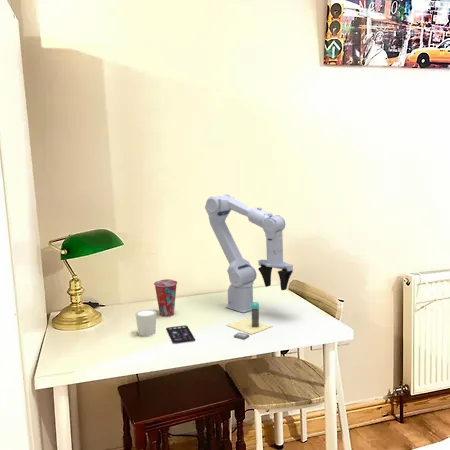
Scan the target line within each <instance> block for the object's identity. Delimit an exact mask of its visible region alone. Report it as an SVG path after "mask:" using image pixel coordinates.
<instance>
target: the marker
mask: <svg viewBox="0 0 450 450" xmlns="http://www.w3.org/2000/svg"><path fill="white" fill-rule="evenodd" d="M251 308H252V310H251V319H252V327H259V322H260V313H259V312H260V303H259V302H257V301H253V303H251Z"/></svg>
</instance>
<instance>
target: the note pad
mask: <svg viewBox="0 0 450 450" xmlns="http://www.w3.org/2000/svg"><path fill="white" fill-rule="evenodd" d="M226 326H227V327H229V328H232V329H234V330H237V331H240V332H241V333H242V332H243V333H244V334H248V335H251V336H252V335H254V334H257V333H260V332H262V331H265V330H268V329H271V328H273V325H270V324H269V323H268V324H267V323H264V322H262V321H259V327H252V318H249V317H245V318H242V319H239V320H236V321H234V322H232V323H228V324H226ZM270 327H271V328H270ZM267 328H268V329H267Z"/></svg>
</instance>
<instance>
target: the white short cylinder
mask: <svg viewBox="0 0 450 450" xmlns="http://www.w3.org/2000/svg"><path fill="white" fill-rule="evenodd" d="M135 321H136V326H137V327H136V328H137V331H138V332H137V333H138V335H139V337H150V335H151V336H154V335H155V334H156V331H157V330H156V328H157V327H156V325H157V311H155V310H153V309H145V310H144V309H143V310H139V311H137V312H135ZM153 334H154V335H153Z"/></svg>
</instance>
